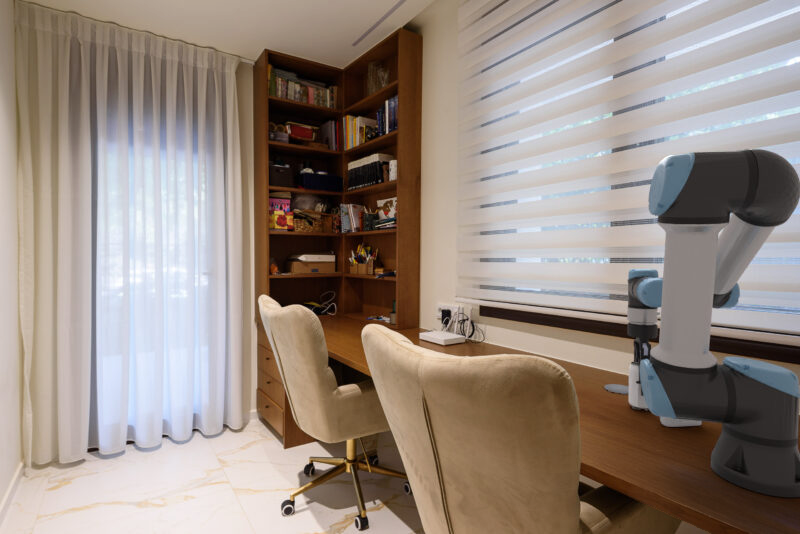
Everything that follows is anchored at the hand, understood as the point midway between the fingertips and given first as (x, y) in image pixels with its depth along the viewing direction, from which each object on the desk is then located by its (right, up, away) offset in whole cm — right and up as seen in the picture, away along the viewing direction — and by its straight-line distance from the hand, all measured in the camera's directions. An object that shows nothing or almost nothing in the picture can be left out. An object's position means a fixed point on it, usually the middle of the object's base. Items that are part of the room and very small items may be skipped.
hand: (641, 402), depth 123 cm
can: (0, -1, 0) cm, 1 cm away
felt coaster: (+2, -1, +17) cm, 17 cm away
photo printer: (+4, -3, -11) cm, 12 cm away
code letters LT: (0, -2, 0) cm, 2 cm away
